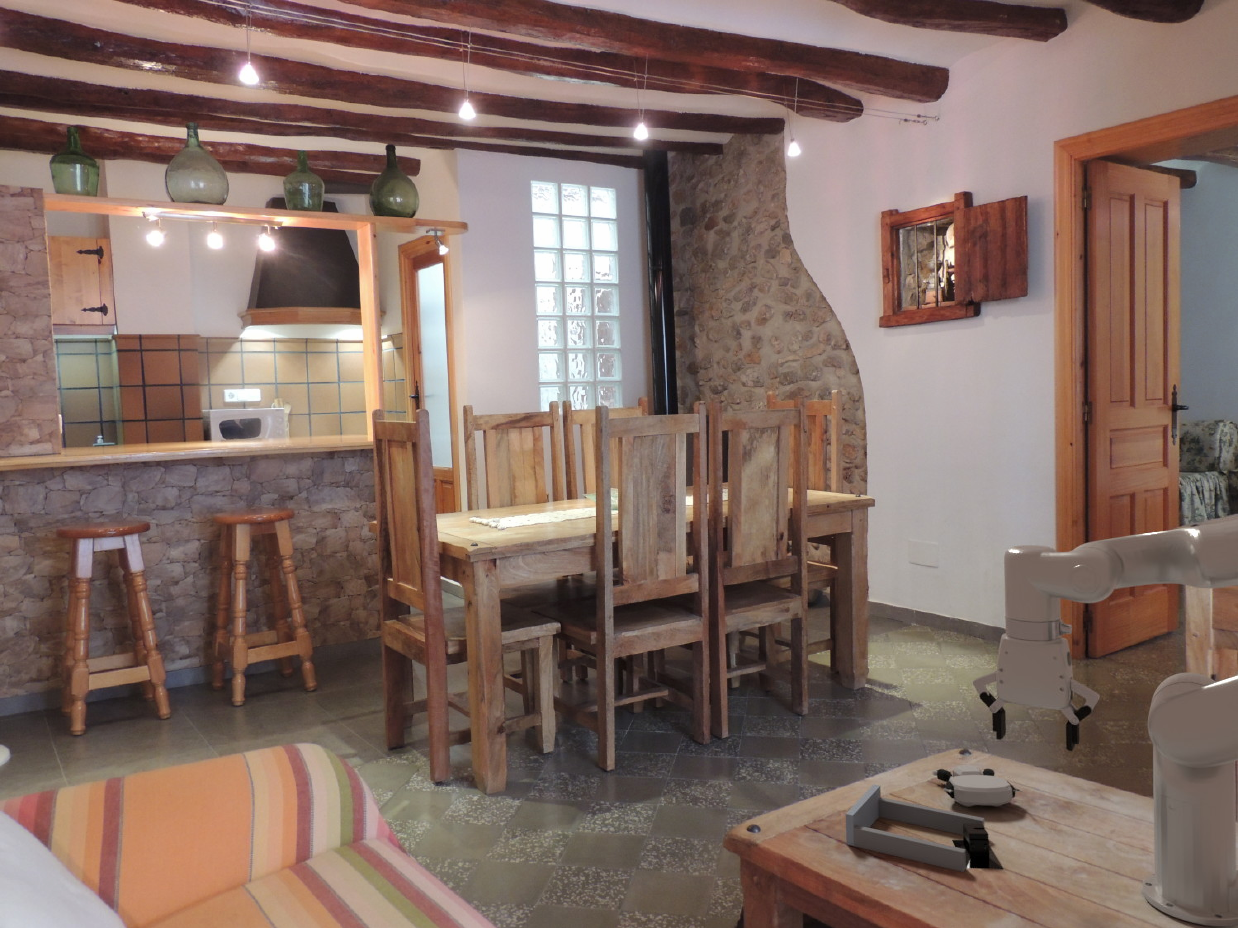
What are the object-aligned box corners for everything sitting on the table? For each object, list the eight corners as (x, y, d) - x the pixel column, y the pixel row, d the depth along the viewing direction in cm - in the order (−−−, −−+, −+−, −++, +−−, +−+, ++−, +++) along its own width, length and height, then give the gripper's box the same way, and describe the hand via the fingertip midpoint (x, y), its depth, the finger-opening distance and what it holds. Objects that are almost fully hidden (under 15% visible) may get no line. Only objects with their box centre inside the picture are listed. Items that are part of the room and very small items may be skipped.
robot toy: (929, 785, 169) (951, 814, 154) (928, 761, 169) (950, 787, 154) (996, 785, 168) (1025, 814, 153) (995, 761, 168) (1024, 787, 153)
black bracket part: (1011, 878, 134) (1011, 847, 133) (960, 876, 135) (960, 846, 134) (989, 839, 146) (988, 811, 146) (942, 838, 147) (941, 810, 147)
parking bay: (984, 836, 146) (983, 805, 146) (964, 872, 135) (963, 839, 134) (874, 812, 156) (873, 784, 156) (846, 844, 145) (845, 813, 145)
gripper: (1101, 629, 132) (1103, 744, 132) (978, 618, 142) (981, 725, 142) (1094, 640, 126) (1096, 761, 126) (966, 628, 136) (968, 740, 136)
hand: (1035, 742), depth 134 cm, fingers open, 9 cm apart
